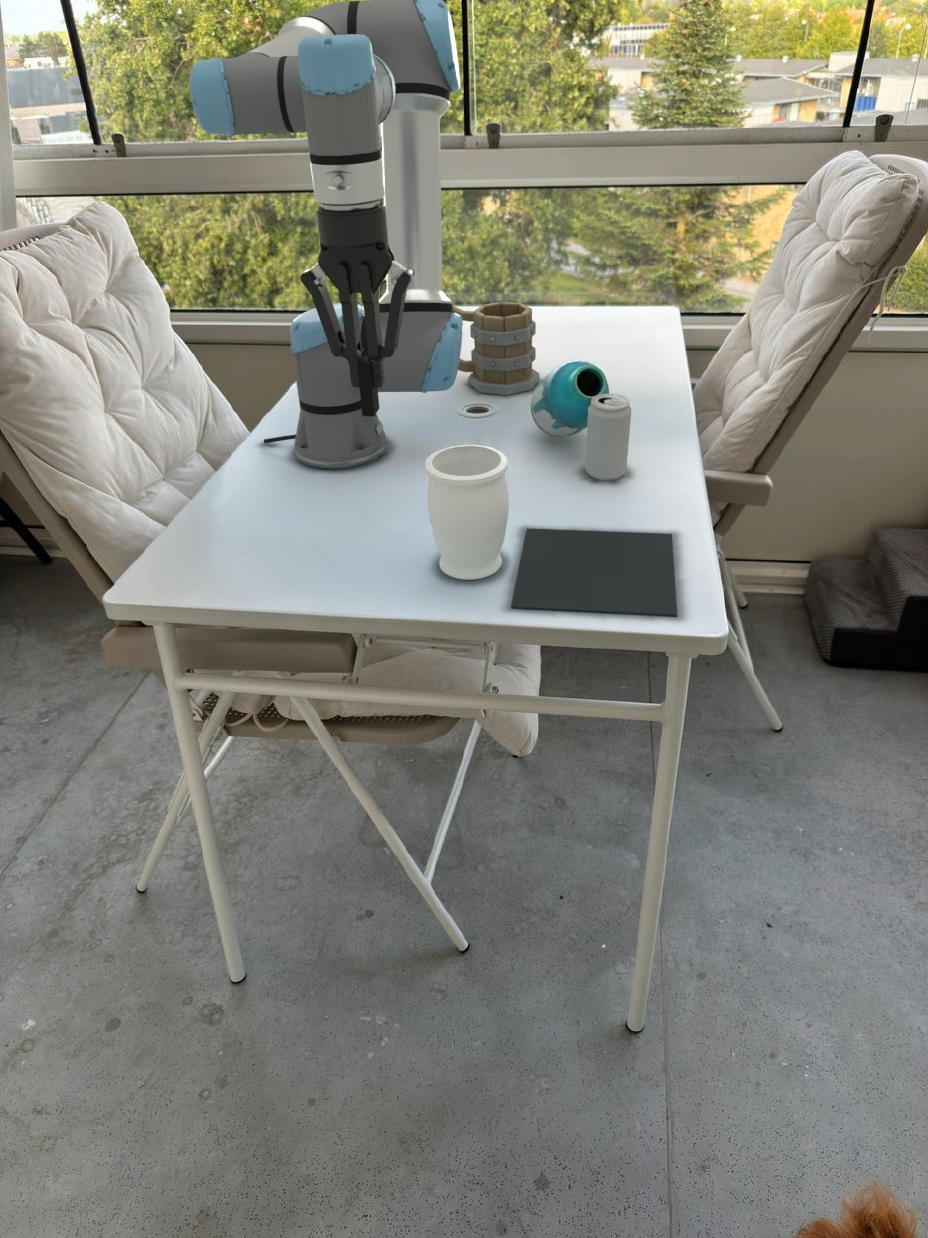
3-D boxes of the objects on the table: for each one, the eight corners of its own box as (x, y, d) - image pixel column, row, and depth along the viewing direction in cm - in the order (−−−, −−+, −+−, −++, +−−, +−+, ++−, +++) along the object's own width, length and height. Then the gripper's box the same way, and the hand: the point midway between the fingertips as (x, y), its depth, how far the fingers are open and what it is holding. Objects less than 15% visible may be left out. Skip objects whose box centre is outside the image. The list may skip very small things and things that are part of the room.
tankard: (545, 374, 183) (545, 296, 174) (524, 397, 173) (524, 316, 165) (450, 366, 189) (446, 290, 181) (426, 387, 180) (420, 308, 171)
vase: (584, 383, 160) (624, 350, 141) (582, 445, 160) (623, 419, 141) (524, 378, 158) (557, 343, 139) (522, 440, 158) (555, 414, 139)
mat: (511, 608, 115) (511, 606, 115) (526, 530, 131) (526, 528, 131) (676, 616, 112) (677, 614, 112) (671, 535, 128) (671, 533, 128)
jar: (502, 588, 119) (500, 481, 110) (423, 582, 121) (415, 476, 112) (515, 547, 127) (514, 444, 119) (441, 542, 129) (435, 441, 121)
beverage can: (599, 459, 149) (603, 388, 141) (634, 470, 145) (640, 398, 138) (576, 475, 145) (580, 402, 138) (612, 486, 141) (617, 412, 134)
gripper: (281, 211, 98) (310, 422, 111) (402, 209, 96) (417, 425, 110) (302, 197, 104) (327, 400, 118) (416, 196, 103) (429, 401, 116)
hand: (371, 411), depth 114 cm, fingers closed
